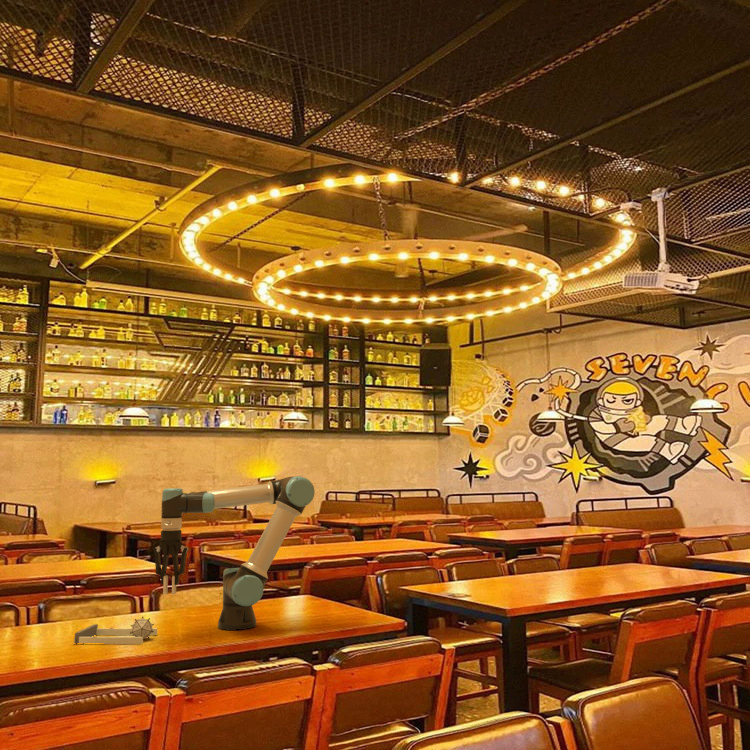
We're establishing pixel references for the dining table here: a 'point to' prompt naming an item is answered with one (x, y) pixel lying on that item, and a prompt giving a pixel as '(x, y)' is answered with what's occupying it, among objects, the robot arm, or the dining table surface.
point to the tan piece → (92, 630)
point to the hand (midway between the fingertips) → (169, 593)
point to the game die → (142, 628)
